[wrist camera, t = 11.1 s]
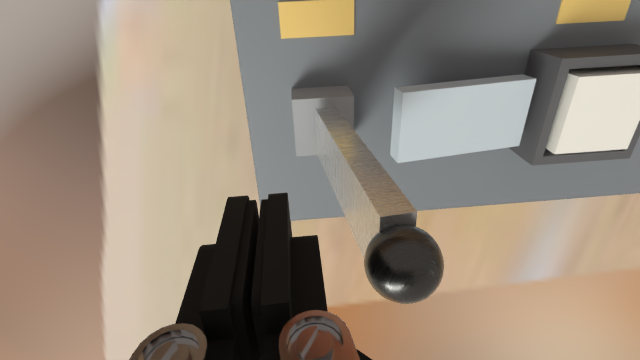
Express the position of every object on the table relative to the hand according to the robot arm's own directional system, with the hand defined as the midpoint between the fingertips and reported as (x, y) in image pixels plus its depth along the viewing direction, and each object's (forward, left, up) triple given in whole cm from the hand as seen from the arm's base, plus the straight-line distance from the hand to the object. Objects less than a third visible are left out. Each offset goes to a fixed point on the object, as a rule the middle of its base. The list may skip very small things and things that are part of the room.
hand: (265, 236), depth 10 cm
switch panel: (-12, 0, -13) cm, 18 cm away
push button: (-17, 0, -10) cm, 19 cm away
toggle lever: (-3, 0, -8) cm, 9 cm away
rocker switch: (-10, 0, -8) cm, 13 cm away
